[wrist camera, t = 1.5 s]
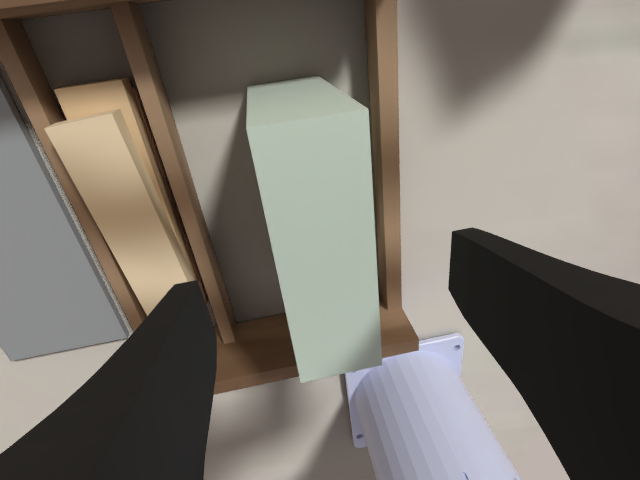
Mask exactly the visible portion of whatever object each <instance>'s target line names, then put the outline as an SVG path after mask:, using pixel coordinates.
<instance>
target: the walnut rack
mask: <svg viewBox="0 0 640 480" xmlns="http://www.w3.org/2000/svg"><path fill="white" fill-rule="evenodd" d="M161 1H169V0H0V60H1V62H2V64H3V66H4V68H5V70H6V72H7V74H8V76H9V78H10V80H11V82H12V84H13V87H14V89H15V91H16V93H17V95H18V97H19V99H20V101H21V103H22V105H23V107H24V109H25V111H26V113H27V115H28V117H29V119H30V121H31V123H32V125H33V127H34V129H35V131H36V133H37V135H38V137H39V139H40V142H41V144H42V146H43V148H44V150H45V152H46V154H47V156H48V158H49V160H50V162H51V164H52V166H53V168H54V170H55V172H56V174H57V176H58V178H59V180H60V182H61V184H62V186H63V188H64V190H65V192H66V195H67V197H68V199H69V201H70V203H71V205H72V207H73V209H74V211H75V213H76V215H77V217H78V219H79V221H80V223H81V225H82V227H83V229H84V231H85V233H86V235H87V237H88V239H89V241H90V243H91V245H92V248H93V250H94V252H95V254H96V256H97V258H98V260H99V262H100V264H101V266H102V268H103V270H104V272H105V274H106V276H107V278H108V280H109V282H110V284H111V286H112V288H113V290H114V292H115V294H116V296H117V298H118V300H119V303H120V305H121V307H122V309H123V311H124V313H125V315H126V317H127V319H128V321H129V323H130V325H131V327H132V329H133V331H135V330H136V329H137V328H138V327H139V325H140V324H141V323H142V322H143V321H144V320H145V318H146V317H147V315H146V313H145V311H144V309H143V307H142V305H141V304H140V302H139V300H138V298H137V296H136V295H135V293H134V291H133V289H132V287H131V285H130V284H129V282H128V280H127V278H126V276H125V275H124V273H123V271H122V269H121V267H120V265H119V264H118V262H117V260H116V258H115V256H114V255H113V253H112V251H111V249H110V247H109V246H108V244H107V242H106V240H105V238H104V236H103V235H102V233H101V231H100V229H99V227H98V226H97V224H96V222H95V220H94V218H93V216H92V215H91V213H90V211H89V209H88V207H87V206H86V204H85V202H84V200H83V198H82V196H81V195H80V193H79V191H78V189H77V187H76V186H75V184H74V182H73V180H72V178H71V177H70V175H69V173H68V171H67V169H66V167H65V166H64V164H63V162H62V160H61V158H60V157H59V155H58V153H57V151H56V149H55V147H54V146H53V144H52V142H51V140H50V138H49V137H48V135H47V133H46V131H45V129H44V128H46V127H48V126H50V125H52V124H54V123H57V122H61V121H65V120H64V118H63V116H62V114H61V111H60V109H59V107H58V105H57V103H56V100H55V98H54V96H53V94H52V91H51V89H50V87H49V85H48V82H47V80H46V78H45V76H44V73H43V71H42V69H41V67H40V64H39V62H38V60H37V58H36V55H35V53H34V51H33V49H32V47H31V44H30V42H29V40H28V38H27V35H26V33H25V31H24V29H23V26H22V24H21V22H20V20H23V19H30V18H38V17H46V16H53V15H61V14H69V13H77V12H84V11H92V10H100V9H107V8H111V11H112V14H113V17H114V20H115V23H116V26H117V29H118V32H119V35H120V38H121V41H122V44H123V47H124V50H125V53H126V56H127V59H128V61H129V64H130V67H131V70H132V73H133V76H134V79H135V82H136V85H137V88H138V91H139V94H140V97H141V100H142V103H143V106H144V109H145V112H146V115H147V118H148V121H149V124H150V127H151V129H152V132H153V135H154V138H155V141H156V144H157V147H158V150H159V153H160V156H161V159H162V162H163V165H164V168H165V171H166V174H167V177H168V180H169V183H170V186H171V189H172V192H173V195H174V197H175V200H176V203H177V206H178V209H179V212H180V215H181V218H182V221H183V224H184V227H185V230H186V233H187V236H188V239H189V242H190V245H191V248H192V251H193V254H194V257H195V260H196V263H197V265H198V268H199V271H200V274H201V277H202V280H203V283H204V286H205V289H206V292H207V295H208V298H209V301H210V304H211V307H212V310H213V313H214V316H215V319H216V322H217V325H218V327H214V329H215V332H216V335H217V371H216V379H215V386H214V394H219V393H223V392H228V391H233V390H237V389H242V388H247V387H251V386H256V385H261V384H265V383H270V382H275V381H279V380H284V379H289V378H293V377H298V376H299V372H298V368H297V363H296V358H295V354H294V349H293V344H292V340H291V335H290V330H289V326H288V321H287V316H286V313H284V314H279V315H274V316H269V317H264V318H259V319H254V320H249V321H244V322H239V323H236V321H235V318H234V315H233V311H232V308H231V305H230V302H229V298H228V295H227V292H226V288H225V285H224V282H223V279H222V275H221V272H220V269H219V265H218V262H217V259H216V256H215V252H214V249H213V246H212V243H211V239H210V236H209V233H208V229H207V226H206V223H205V220H204V216H203V213H202V210H201V206H200V203H199V200H198V197H197V193H196V190H195V187H194V183H193V180H192V177H191V174H190V170H189V167H188V164H187V161H186V157H185V154H184V151H183V147H182V144H181V141H180V138H179V134H178V131H177V128H176V124H175V121H174V118H173V115H172V111H171V108H170V105H169V102H168V98H167V95H166V92H165V88H164V85H163V82H162V79H161V75H160V72H159V69H158V65H157V62H156V59H155V56H154V52H153V49H152V46H151V43H150V39H149V36H148V33H147V29H146V26H145V23H144V20H143V16H142V13H141V10H140V6H139V4H146V3H154V2H161ZM365 18H366V37H367V57H368V76H369V95H370V115H371V134H372V153H373V173H374V192H375V211H376V230H377V250H378V269H379V288H380V294H379V313H380V331H381V350H382V358H386V357H391V356H395V355H400V354H405V353H409V352H414V351H419V338H418V336H417V335H416V333H415V331H414V329H413V327H412V326H411V324H410V322H409V320H408V318H407V316H406V315H405V313H404V311H403V309H402V298H401V235H400V172H399V109H398V46H397V0H365ZM214 394H213V395H214Z"/></svg>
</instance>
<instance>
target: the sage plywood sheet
mask: <svg viewBox="0 0 640 480" xmlns="http://www.w3.org/2000/svg"><path fill="white" fill-rule="evenodd" d="M246 130H247V134H248V139H249V144H250V148H251V153H252V158H253V162H254V167H255V172H256V176H257V181H258V186H259V190H260V195H261V200H262V204H263V209H264V214H265V218H266V223H267V228H268V232H269V237H270V242H271V246H272V251H273V256H274V260H275V265H276V270H277V274H278V279H279V284H280V288H281V293H282V298H283V302H284V307H285V312H286V316H287V321H288V326H289V330H290V335H291V340H292V344H293V349H294V354H295V358H296V363H297V368H298V372H299V377H300V381H301V383H303V382H308V381H312V380H317V379H321V378H326V377H331V376H335V375H340V374H344V373H349V372H354V371H358V370H363V369H367V368H372V367H377V366H381V365H382V350H381V331H380V313H379V294H378V275H377V257H376V238H375V220H374V201H373V183H372V164H371V145H370V127H369V109H368V108H366V107H365V106H363V105H362V104H360V103H359V102H357V101H356V100H354V99H353V98H351V97H350V96H348V95H347V94H345V93H344V92H342V91H340V90H339V89H337V88H336V87H334V86H333V85H331V84H330V83H328V82H327V81H325V80H324V79H322V78H321V77H319V76H311V77H304V78H298V79H291V80H284V81H278V82H271V83H264V84H258V85H251V86H247V119H246Z"/></svg>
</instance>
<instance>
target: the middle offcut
mask: <svg viewBox="0 0 640 480" xmlns="http://www.w3.org/2000/svg"><path fill="white" fill-rule="evenodd" d="M54 91H55V94H56V96H57V98H58V101H59V103H60V105H61V107H62V110H63V112H64V114H65V116H66V119H67V120H70V119H75V118H79V117H84V116H88V115H93V114H97V113H102V112H106V111H110V110H115V109H119V108H120V110H121V112H122V115H123V117H124V119H125V122H126V124H127V126H128V128H129V131H130V133H131V135H132V138H133V140H134V142H135V144H136V147H137V149H138V151H139V153H140V156H141V158H142V160H143V163H144V165H145V167H146V169H147V172H148V174H149V176H150V179H151V181H152V183H153V185H154V188H155V190H156V192H157V195H158V197H159V199H160V201H161V204H162V206H163V208H164V210H165V213H166V215H167V217H168V220H169V222H170V224H171V226H172V229H173V231H174V233H175V236H176V238H177V240H178V242H179V245H180V247H181V249H182V252H183V254H184V256H185V258H186V261H187V263H188V265H189V267H190V270H191V272H192V274H193V277H194V279H195V280H198V277H197V275H196V272H195V269H194V266H193V263H192V260H191V257H190V254H189V251H188V248H187V245H186V243H185V240H184V237H183V234H182V231H181V228H180V225H179V222H178V219H177V216H176V213H175V211H174V208H173V205H172V202H171V199H170V196H169V193H168V190H167V187H166V184H165V181H164V179H163V176H162V173H161V170H160V167H159V164H158V161H157V158H156V155H155V152H154V149H153V147H152V144H151V141H150V138H149V135H148V132H147V129H146V126H145V123H144V120H143V118H142V115H141V112H140V109H139V106H138V103H137V100H136V97H135V94H134V91H133V88H132V86H131V83H130V80H129V77H125V78H118V79H111V80H104V81H97V82H90V83H83V84H76V85H69V86H64V87H60V88H57V89H54ZM198 283H199V280H198Z"/></svg>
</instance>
